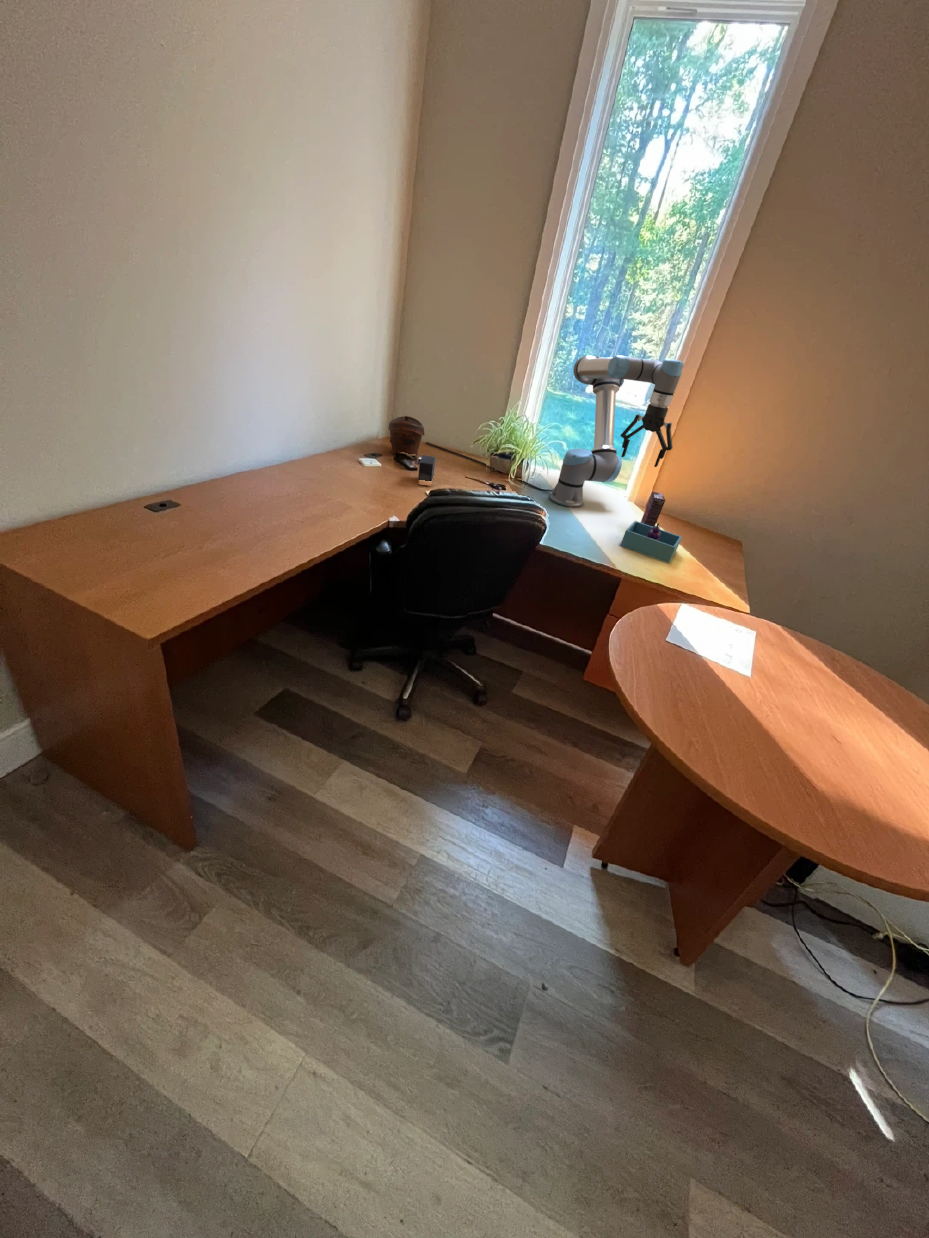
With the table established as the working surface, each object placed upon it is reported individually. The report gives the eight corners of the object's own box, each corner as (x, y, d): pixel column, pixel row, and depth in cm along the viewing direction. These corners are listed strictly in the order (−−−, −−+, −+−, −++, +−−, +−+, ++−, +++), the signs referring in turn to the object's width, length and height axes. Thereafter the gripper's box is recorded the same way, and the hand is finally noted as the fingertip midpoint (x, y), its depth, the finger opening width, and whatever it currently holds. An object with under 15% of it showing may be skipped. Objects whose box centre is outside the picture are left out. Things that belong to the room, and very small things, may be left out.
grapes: (640, 546, 197) (650, 522, 191) (644, 542, 200) (653, 519, 194) (653, 551, 195) (663, 527, 189) (657, 547, 199) (666, 523, 193)
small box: (419, 477, 227) (421, 454, 221) (433, 479, 228) (436, 456, 222) (416, 484, 219) (419, 461, 213) (431, 487, 219) (433, 464, 213)
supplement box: (651, 535, 211) (665, 500, 202) (640, 532, 211) (654, 497, 202) (649, 527, 218) (663, 493, 209) (639, 525, 218) (651, 491, 209)
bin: (620, 545, 197) (625, 530, 193) (629, 535, 207) (634, 520, 203) (668, 563, 190) (675, 547, 186) (675, 551, 200) (682, 536, 196)
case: (407, 446, 263) (410, 411, 253) (429, 458, 251) (433, 422, 241) (379, 449, 253) (380, 412, 242) (400, 461, 241) (403, 424, 231)
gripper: (624, 398, 186) (606, 454, 198) (690, 415, 177) (667, 472, 189) (629, 396, 191) (612, 451, 203) (693, 412, 182) (672, 468, 194)
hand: (639, 461), depth 196 cm, fingers open, 13 cm apart
